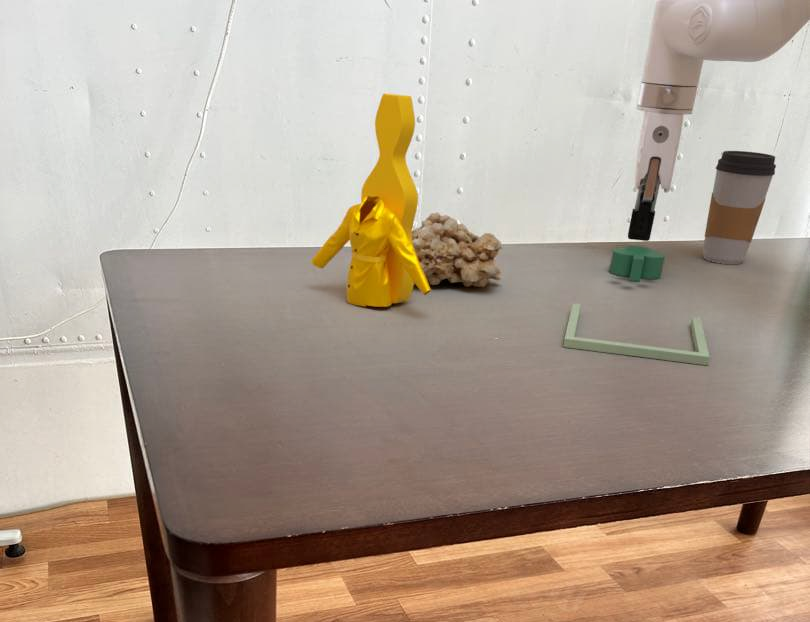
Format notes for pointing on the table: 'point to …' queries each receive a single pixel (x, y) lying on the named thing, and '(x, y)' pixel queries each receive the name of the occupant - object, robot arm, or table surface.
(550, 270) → the table surface
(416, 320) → the table surface
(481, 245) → the mineral formation
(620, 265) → the club
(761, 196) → the coffee cup
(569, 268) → the table surface
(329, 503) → the table surface
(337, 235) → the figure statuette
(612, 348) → the pocket
